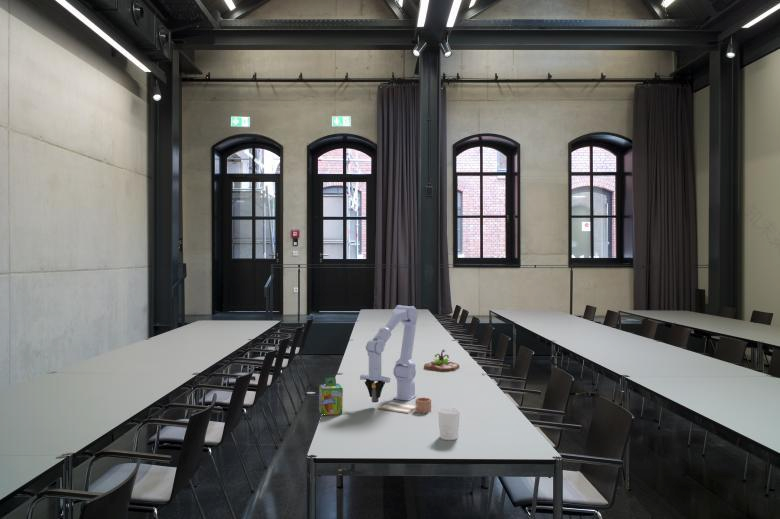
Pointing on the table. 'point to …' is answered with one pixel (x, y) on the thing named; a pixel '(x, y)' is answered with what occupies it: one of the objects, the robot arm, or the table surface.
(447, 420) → the white cup
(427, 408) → the pen cup
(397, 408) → the wooden picture frame
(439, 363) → the plant
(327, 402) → the chalk box
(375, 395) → the marker
